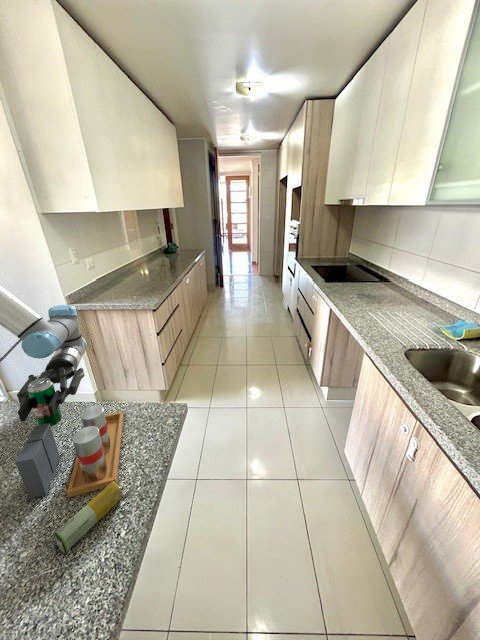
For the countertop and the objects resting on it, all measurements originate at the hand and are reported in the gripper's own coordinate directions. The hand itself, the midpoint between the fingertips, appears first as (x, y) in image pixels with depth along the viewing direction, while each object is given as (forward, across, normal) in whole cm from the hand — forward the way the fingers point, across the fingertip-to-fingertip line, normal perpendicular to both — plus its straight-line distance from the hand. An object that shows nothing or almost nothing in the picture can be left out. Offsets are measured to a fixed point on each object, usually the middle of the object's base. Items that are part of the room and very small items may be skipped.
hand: (36, 413), depth 60 cm
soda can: (-5, 0, -7) cm, 9 cm away
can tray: (0, -11, -15) cm, 18 cm away
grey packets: (+5, 0, -15) cm, 15 cm away
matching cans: (+4, -11, -14) cm, 19 cm away
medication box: (+19, -12, -15) cm, 27 cm away
